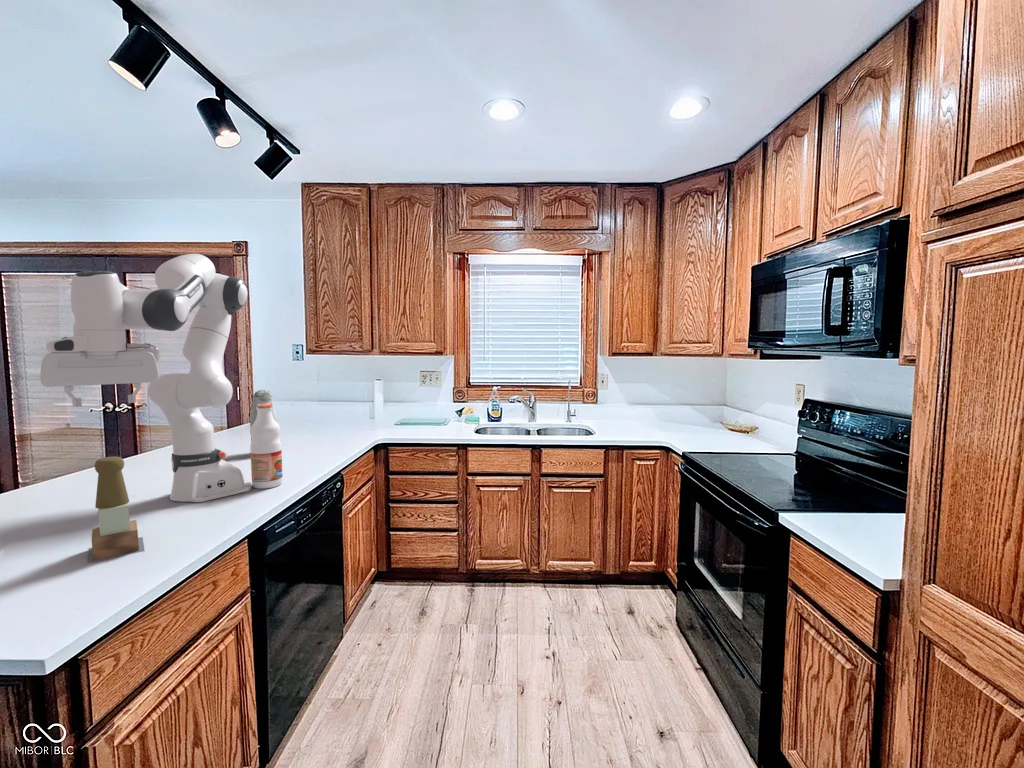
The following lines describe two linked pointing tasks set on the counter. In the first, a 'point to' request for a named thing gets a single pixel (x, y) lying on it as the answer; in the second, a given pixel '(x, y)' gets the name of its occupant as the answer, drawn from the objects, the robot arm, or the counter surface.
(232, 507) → the counter surface
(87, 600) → the counter surface
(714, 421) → the counter surface
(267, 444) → the fruit juice
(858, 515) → the counter surface
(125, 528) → the sage block
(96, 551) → the walnut base block
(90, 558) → the slate coaster
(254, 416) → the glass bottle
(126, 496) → the cork
